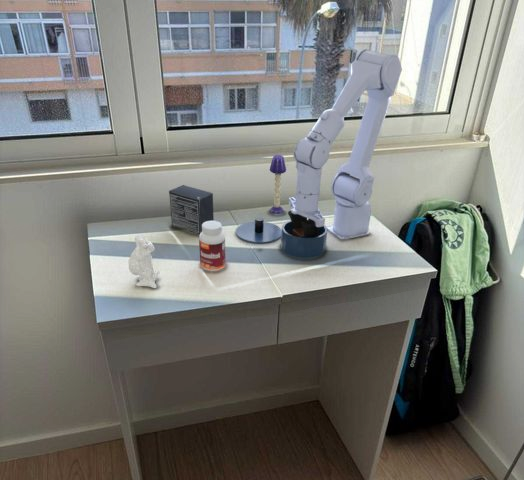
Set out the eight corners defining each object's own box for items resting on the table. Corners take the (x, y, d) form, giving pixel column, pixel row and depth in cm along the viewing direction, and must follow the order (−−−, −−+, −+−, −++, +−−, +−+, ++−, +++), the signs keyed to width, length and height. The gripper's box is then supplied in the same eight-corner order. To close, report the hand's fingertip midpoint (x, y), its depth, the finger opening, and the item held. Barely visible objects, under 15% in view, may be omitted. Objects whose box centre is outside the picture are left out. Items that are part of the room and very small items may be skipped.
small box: (215, 228, 144) (214, 192, 137) (201, 237, 139) (199, 200, 133) (185, 219, 148) (183, 183, 141) (170, 227, 144) (167, 190, 137)
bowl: (310, 236, 142) (312, 215, 138) (333, 254, 134) (336, 233, 130) (273, 243, 138) (274, 223, 134) (294, 263, 130) (296, 242, 126)
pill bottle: (197, 271, 125) (195, 229, 118) (203, 259, 130) (201, 218, 123) (223, 273, 125) (222, 231, 118) (227, 261, 129) (227, 220, 123)
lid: (269, 222, 148) (269, 206, 145) (290, 240, 139) (291, 224, 136) (228, 229, 143) (228, 213, 141) (247, 249, 135) (248, 232, 132)
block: (306, 242, 138) (307, 226, 135) (314, 249, 134) (316, 233, 132) (291, 245, 136) (292, 229, 133) (299, 252, 133) (301, 236, 130)
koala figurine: (165, 288, 118) (160, 241, 111) (136, 294, 116) (129, 246, 109) (156, 271, 124) (151, 225, 117) (128, 276, 122) (121, 229, 115)
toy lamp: (283, 216, 151) (287, 159, 141) (268, 216, 151) (270, 158, 141) (283, 210, 155) (286, 153, 144) (268, 209, 155) (270, 153, 144)
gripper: (279, 182, 129) (277, 232, 138) (308, 204, 119) (304, 256, 128) (303, 178, 132) (300, 228, 140) (334, 199, 122) (328, 251, 130)
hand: (303, 241), depth 134 cm, fingers closed on block, 4 cm apart
